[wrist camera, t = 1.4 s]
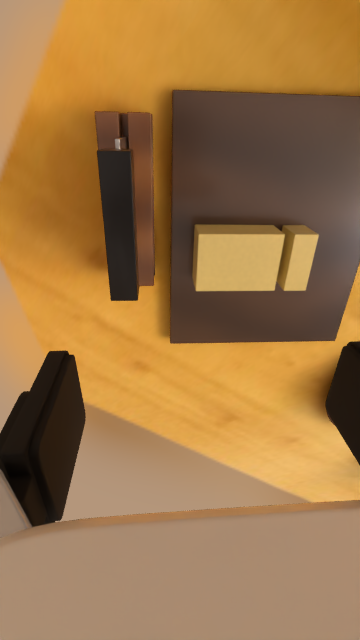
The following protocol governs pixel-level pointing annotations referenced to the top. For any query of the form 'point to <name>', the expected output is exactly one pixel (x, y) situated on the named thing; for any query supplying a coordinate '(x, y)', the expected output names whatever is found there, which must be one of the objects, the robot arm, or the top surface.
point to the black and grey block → (119, 219)
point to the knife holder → (136, 177)
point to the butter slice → (296, 257)
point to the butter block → (236, 257)
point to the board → (265, 207)
